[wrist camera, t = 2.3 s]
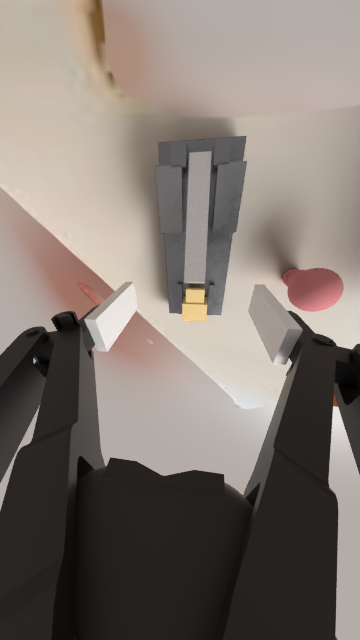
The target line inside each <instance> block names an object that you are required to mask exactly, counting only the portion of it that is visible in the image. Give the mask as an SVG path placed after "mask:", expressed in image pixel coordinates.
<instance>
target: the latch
mask: <svg viewBox="0 0 360 640" xmlns="http://www.w3.org/2000/svg"><path fill="white" fill-rule="evenodd" d="M204 295H205V288H186V296H184V298H183V303H182V321H202V322H206V317H207V297H204Z"/></svg>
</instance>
